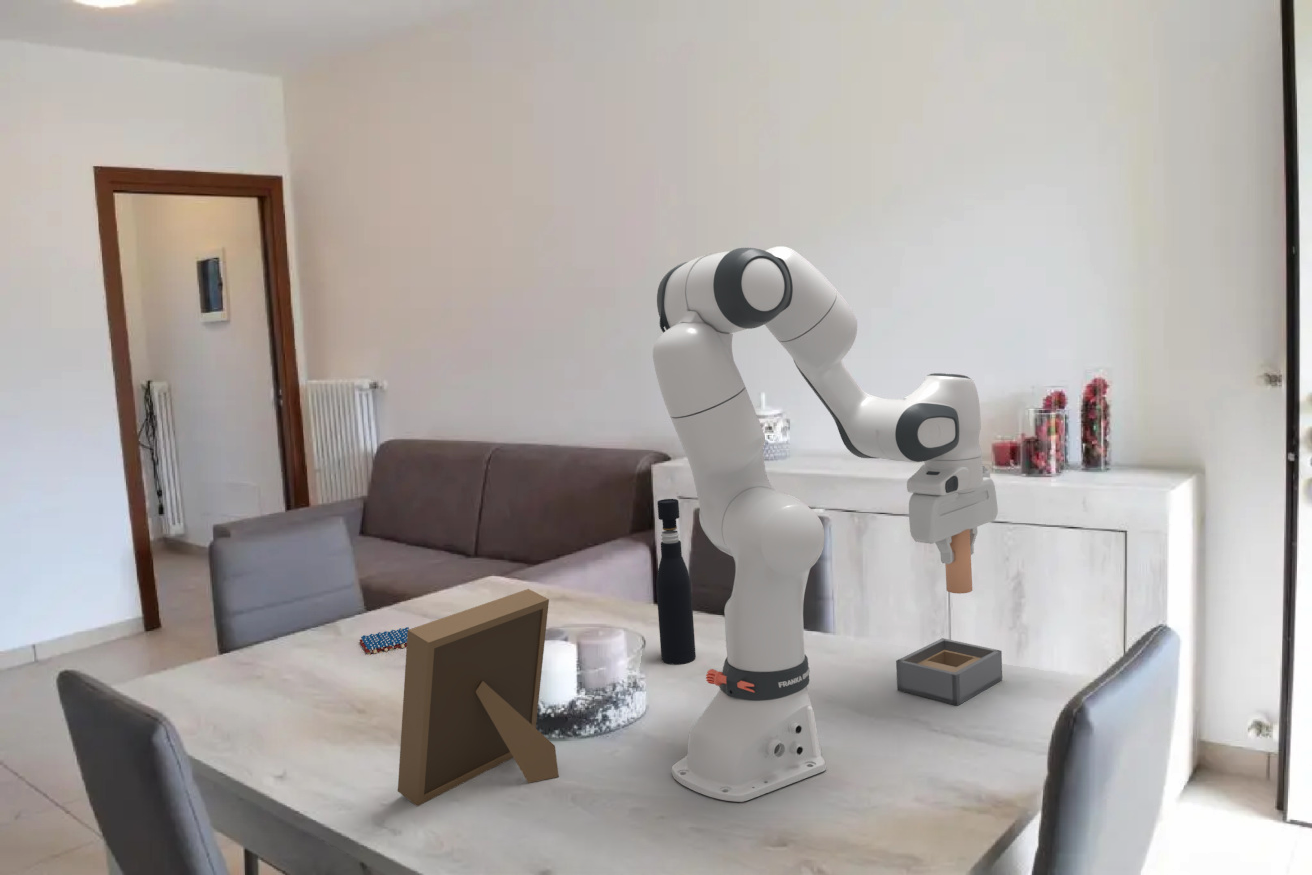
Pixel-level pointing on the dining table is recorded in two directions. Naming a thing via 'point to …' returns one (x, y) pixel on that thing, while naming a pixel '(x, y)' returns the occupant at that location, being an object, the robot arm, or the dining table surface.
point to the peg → (960, 565)
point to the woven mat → (384, 641)
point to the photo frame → (474, 697)
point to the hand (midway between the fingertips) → (957, 558)
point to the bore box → (949, 671)
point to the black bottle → (674, 592)
